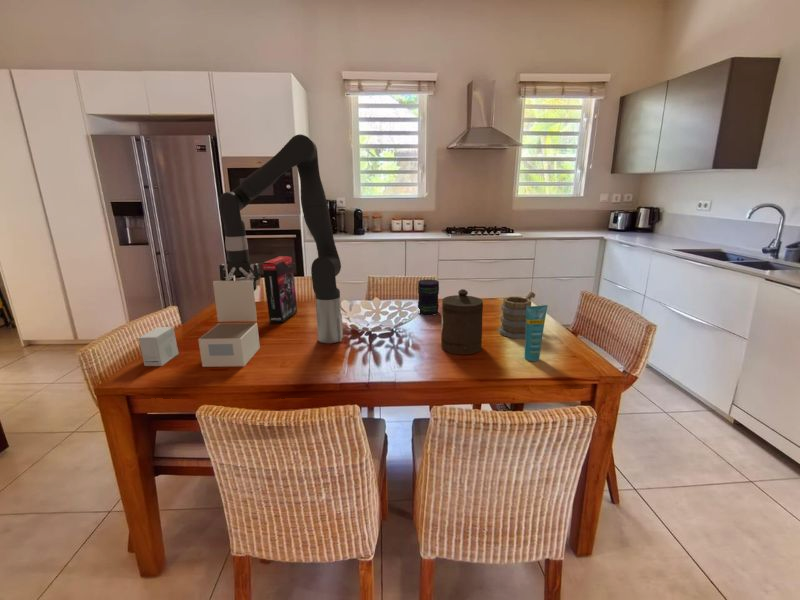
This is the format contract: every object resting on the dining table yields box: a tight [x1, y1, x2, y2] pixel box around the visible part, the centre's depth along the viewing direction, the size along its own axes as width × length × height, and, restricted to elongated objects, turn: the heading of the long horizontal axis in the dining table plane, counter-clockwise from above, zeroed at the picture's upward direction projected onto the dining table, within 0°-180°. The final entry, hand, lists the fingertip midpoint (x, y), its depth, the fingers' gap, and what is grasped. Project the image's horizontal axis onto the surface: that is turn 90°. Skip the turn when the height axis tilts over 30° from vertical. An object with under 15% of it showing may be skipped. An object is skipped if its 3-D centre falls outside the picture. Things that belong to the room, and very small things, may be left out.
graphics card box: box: [262, 255, 298, 324], centre depth 181 cm, size 17×7×27 cm, turn 172°
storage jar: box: [417, 279, 440, 316], centre depth 189 cm, size 10×10×15 cm
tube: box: [523, 304, 548, 362], centre depth 137 cm, size 7×5×19 cm, turn 103°
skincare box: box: [137, 326, 180, 367], centre depth 139 cm, size 10×6×10 cm, turn 178°
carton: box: [198, 322, 261, 368], centre depth 141 cm, size 14×16×10 cm
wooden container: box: [440, 288, 484, 356], centre depth 147 cm, size 15×15×22 cm
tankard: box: [497, 291, 536, 339], centre depth 164 cm, size 20×13×15 cm, turn 131°
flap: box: [212, 276, 258, 323], centre depth 150 cm, size 14×15×11 cm
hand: (242, 291), depth 152 cm, fingers open, 8 cm apart
